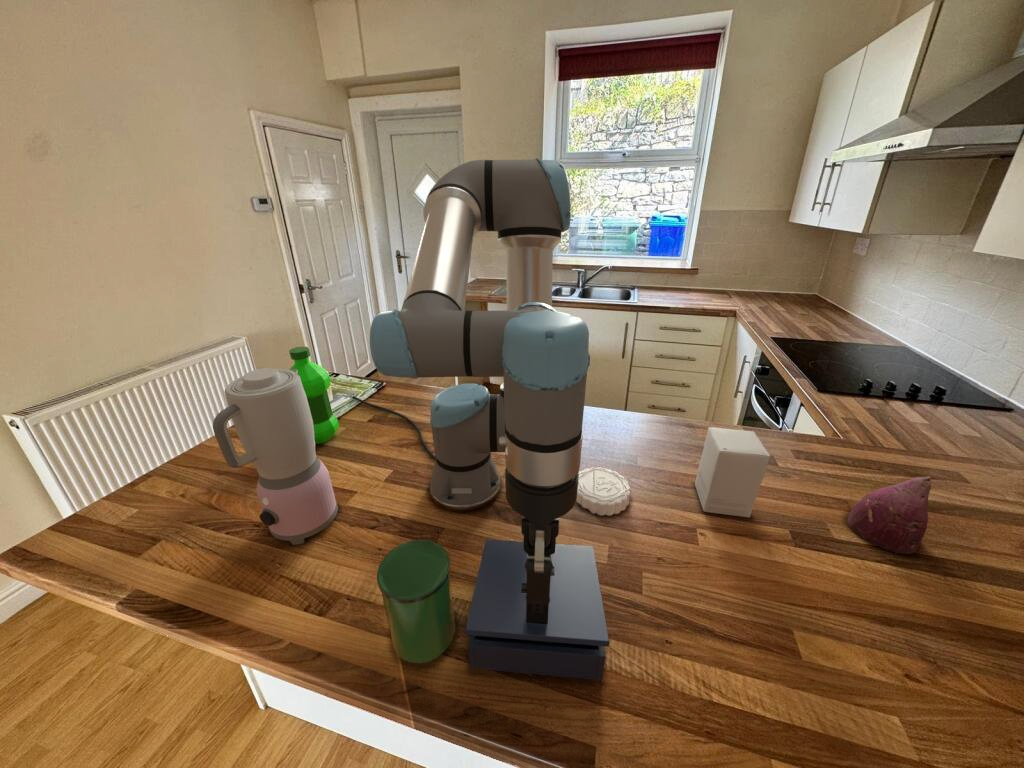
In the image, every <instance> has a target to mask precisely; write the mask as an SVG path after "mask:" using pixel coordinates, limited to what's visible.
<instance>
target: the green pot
mask: <svg viewBox="0 0 1024 768" xmlns="http://www.w3.org/2000/svg"><path fill="white" fill-rule="evenodd" d="M450 571H451V560H450V556H449V553H448V552H447V550H446V549H445V548H444V547H443V546H442V545H441V544H440V543H438V542H436V541H433V540H429V539H413V540H409V541H405V542H402V543H401V544H398V545H397V546H396V547H394V548H392V549H391V550H390V551H389V552H388V553H386V555H385V556H384V557H383V559H382V560H381V562H380V563H379V566H378V568H377V572H376V582H377V586H378V589H379V591H380V592H381V597H382V601H383V606H384V610H385V615H386V619H387V624H388V628H389V633H390V637H391V641H392V642H391V643H392V646H393V650H394V653H395V655H396V656H397V658H398V659H399V660H401V659H402V660H403V661H406V662H408V663H412V664H424V663H428V662H430V661H433V660H435V659H437V658H438V657H440V656H441V655H442V654H444V652H445V651H446V650H447V649H448V648H449V646H450V645H451V643H452V641H453V639H454V636H455V633H456V622H455V611H454V602H453V594H452V583H451V582H452V581H451V575H450V574H451V573H450Z"/></svg>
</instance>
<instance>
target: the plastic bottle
mask: <svg viewBox="0 0 1024 768" xmlns="http://www.w3.org/2000/svg"><path fill="white" fill-rule="evenodd" d="M288 352H289V353H288V354H289V356H290V359H291V360H293V361H294V364H293V365H292V366H290V368H289V369H296V370H298V373H297V374H298V375H299V376H300V379H301V382H302V385H303V388H304V391H305V394H306V397H307V400H308V404H309V408H310V412H311V416H312V420H313V426H314V437H315V445H318V444H323V443H324V444H325V443H326V442H328V441H330V440H331V439H332V438H333V437H334V435H335V434H336V433H337V431H338V430H339V428H340V427H339V426H340V423H339V420H338V419H337V417H336V415H335V414H334V412H333V409H332V405H331V400H330V396H329V391H328V389H329V388H330V386H331V382H332V381H331V375H330V374H329V372H328V371H327V370H326V369H325V368H324V366H322V365H319V364H317V363H315V362H313V361H310V358H309V357H311V355H312V354H311V351H310V348H309V347H308V346H304V345H303V346H296V347H293V348H290V349H289V350H288Z"/></svg>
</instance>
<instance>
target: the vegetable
mask: <svg viewBox="0 0 1024 768" xmlns="http://www.w3.org/2000/svg"><path fill="white" fill-rule="evenodd" d="M931 479H932V476H918V477H913V478H911V479H908V480H905V481H902V482H900V483H897V484H893V485H888V486H883V487H879V488H877V489H875V490H872V491H871V492H869V493H867V494H865V495H864V496H863V497H862V498H860V499H859V500H858V501H857V502H856V503H855V504H854V505H853V507H852V508H851V509H850V512H849V515H848V518H847V525H848V527H849V528H850V529H851V530H852V531H853V532H854V533H855V534H857V535H858V536H859V537H860V538H862V539H863V540H865V541H867V542H869V543H871V544H873V545H874V546H876V547H879V548H882V549H885V550H887V551H890V552H893V553H897V554H900V555H901V554H902V555H911V554H914V553H916V551H917V550H918V547H919V546H920V544H921V542H922V541H923V538H924V535H925V533H926V531H927V528H928V522H929V512H928V509H929V508H928V506H929V505H928V504H929V495H930V491H931V489H932V481H931Z"/></svg>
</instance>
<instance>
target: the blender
mask: <svg viewBox="0 0 1024 768" xmlns="http://www.w3.org/2000/svg"><path fill="white" fill-rule="evenodd" d="M297 373H298V370H296V369H290V368H289V369H285V368H272V367H267V368H266V367H263V368H258V369H253V370H251V371H248V372H246V373H245V374H243V375H242V376H240V377H238V378H235V379H234V380H232V381H231V382H229V383H228V384H227V385H226V387H225V389H224V395H225V399H226V403H227V407H225V408H224V409H222V410H220V411H219V412H218V413H217V414H216V416H214V419H213V422H212V430H213V433H214V436H215V439H216V442H217V444H218V447H219V449H220V451H221V453H222V456H223V458H224V460H225V462H226V464H227V466H228V467H229V468H233V469H239V468H243V467H244V466H247V465H248V464H252V465H253V467H254V468H255V470H256V471H257V473H258V480H257V483H256V496H257V500H258V503H259V505H260V508H261V513H260V514H259V520H260V521H261V523H262V524H264V525H265V526H267V527H268V529H269V532H270V534H271V536H273V538H275V539H277V540H280V541H285V542H286V541H287V542H290V543H291V545H292V546H296V545H303V544H305V542H306V541H305V539H307V538H309V537H312V536H314V535H316V534H318V533H320V532H321V531H323V530H324V529H325V528H327V527H328V526H329V525H330V524H331V523H332V522H333V521H334V519H335V518H336V516H337V514H338V512H339V505H338V501H337V499H336V496H335V492H334V488H333V483H332V479H331V476H330V472H329V470H328V467H326V465H325V464H324V462H323V461H322V460H321V459H319V458H318V456H317V453H316V443H315V437H314V426H313V420H312V416H311V412H310V408H309V404H308V400H307V397H306V394H305V391H304V388H303V385H302V382H301V379H300V376H299V375H298V374H297ZM230 420H232V424H233V426H234V429H235V431H236V435H237V438H238V440H239V441H240V444H241V446H242V448H243V450H244V452H245V453H244V454H241V455H238V453H237V450H236V447H235V445H234V443H233V440H232V437H231V435H230V432H229V429H228V423H229V421H230Z"/></svg>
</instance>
